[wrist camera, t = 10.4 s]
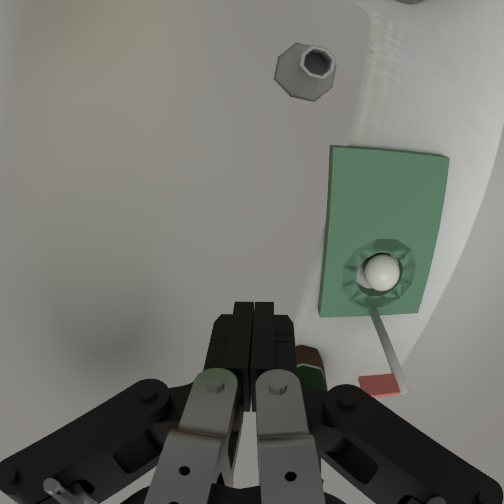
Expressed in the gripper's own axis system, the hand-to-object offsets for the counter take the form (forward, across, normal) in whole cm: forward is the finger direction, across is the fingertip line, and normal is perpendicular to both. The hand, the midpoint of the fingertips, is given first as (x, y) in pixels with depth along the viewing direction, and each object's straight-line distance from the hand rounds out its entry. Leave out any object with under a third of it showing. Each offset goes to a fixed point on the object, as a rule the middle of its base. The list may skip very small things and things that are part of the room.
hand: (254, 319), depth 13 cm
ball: (+26, -16, +13) cm, 34 cm away
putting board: (+29, -16, +9) cm, 34 cm away
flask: (+29, -5, -12) cm, 32 cm away
